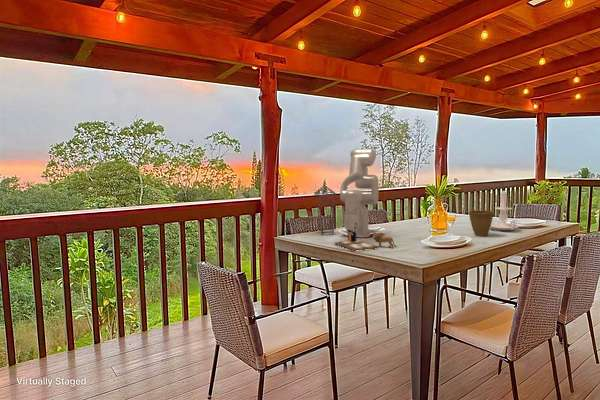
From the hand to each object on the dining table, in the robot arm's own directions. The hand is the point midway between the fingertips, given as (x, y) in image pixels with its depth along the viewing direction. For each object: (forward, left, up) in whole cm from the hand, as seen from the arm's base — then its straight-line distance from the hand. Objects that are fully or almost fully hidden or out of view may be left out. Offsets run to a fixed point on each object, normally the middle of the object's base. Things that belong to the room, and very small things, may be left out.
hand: (351, 240), depth 252 cm
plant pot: (-89, +17, -3) cm, 91 cm away
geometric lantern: (-4, -44, -3) cm, 44 cm away
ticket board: (0, +4, -3) cm, 5 cm away
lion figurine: (-14, +14, -4) cm, 20 cm away
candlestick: (-117, +12, -4) cm, 118 cm away
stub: (0, 0, -1) cm, 1 cm away
